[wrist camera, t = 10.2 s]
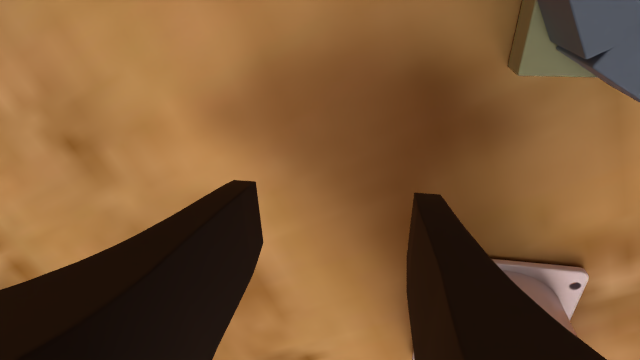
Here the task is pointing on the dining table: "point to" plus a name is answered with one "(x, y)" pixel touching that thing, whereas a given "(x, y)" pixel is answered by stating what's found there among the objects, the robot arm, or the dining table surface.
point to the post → (539, 48)
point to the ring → (599, 38)
